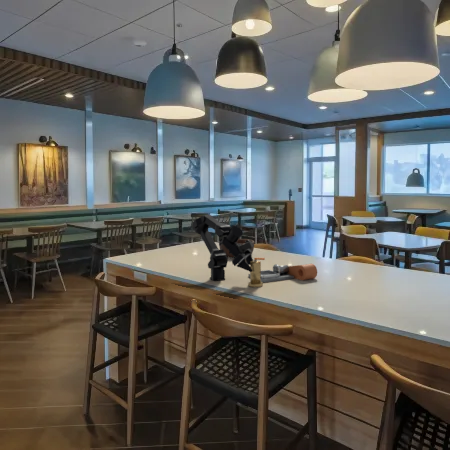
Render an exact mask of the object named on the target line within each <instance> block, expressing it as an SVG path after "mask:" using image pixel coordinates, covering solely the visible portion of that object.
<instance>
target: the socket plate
mask: <svg viewBox="0 0 450 450" xmlns="http://www.w3.org/2000/svg"><path fill="white" fill-rule="evenodd" d="M288 266H289V265H288V264H284V265H279V264H278V263H277V264H276V263H275V264H274V265H272V270H271V269H265V270H264V269H263V270H261V282H262V283H263V284H264V283H270V282H277V281H279V282H280V281H285V280H292V279H293V280H294V279H295V278H294V275H291V274H288V272H289V267H288ZM247 277H248V278H250V273H248V276H247Z"/></svg>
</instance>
